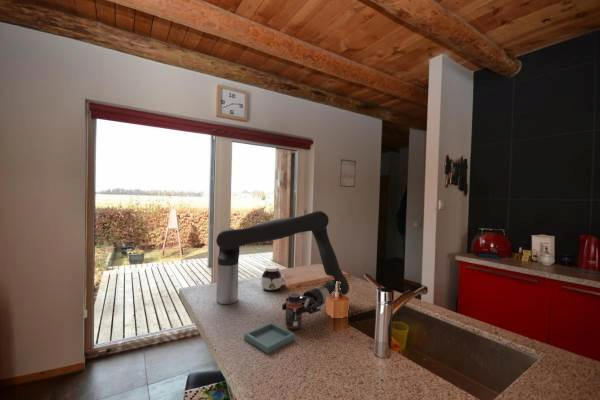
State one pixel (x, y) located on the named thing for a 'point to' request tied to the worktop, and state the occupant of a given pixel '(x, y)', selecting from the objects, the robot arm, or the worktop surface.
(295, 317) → the supplement bottle
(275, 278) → the spread jar
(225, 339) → the worktop surface
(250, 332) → the tray
